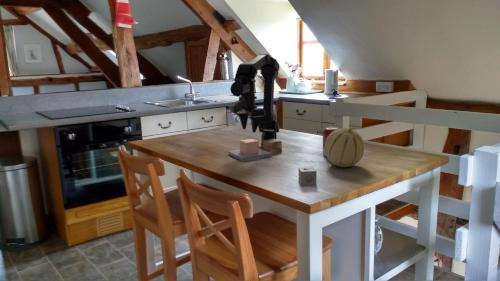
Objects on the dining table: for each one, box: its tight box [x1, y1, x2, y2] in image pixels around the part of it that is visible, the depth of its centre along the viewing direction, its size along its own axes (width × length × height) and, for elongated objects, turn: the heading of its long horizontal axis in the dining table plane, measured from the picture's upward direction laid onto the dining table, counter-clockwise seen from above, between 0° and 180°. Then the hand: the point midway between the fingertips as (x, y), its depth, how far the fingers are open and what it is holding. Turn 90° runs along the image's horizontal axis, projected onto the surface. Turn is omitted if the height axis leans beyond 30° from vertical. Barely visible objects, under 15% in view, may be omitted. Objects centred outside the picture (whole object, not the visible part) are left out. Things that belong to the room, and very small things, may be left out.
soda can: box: [322, 126, 339, 158], centre depth 163 cm, size 7×7×12 cm
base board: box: [227, 147, 273, 162], centre depth 169 cm, size 14×14×2 cm
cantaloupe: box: [324, 127, 365, 168], centre depth 147 cm, size 15×15×15 cm
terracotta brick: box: [239, 138, 260, 154], centre depth 168 cm, size 6×6×5 cm
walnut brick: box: [262, 139, 283, 154], centre depth 175 cm, size 6×6×5 cm
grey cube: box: [298, 166, 318, 187], centre depth 129 cm, size 5×5×5 cm
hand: (249, 130), depth 167 cm, fingers open, 9 cm apart
